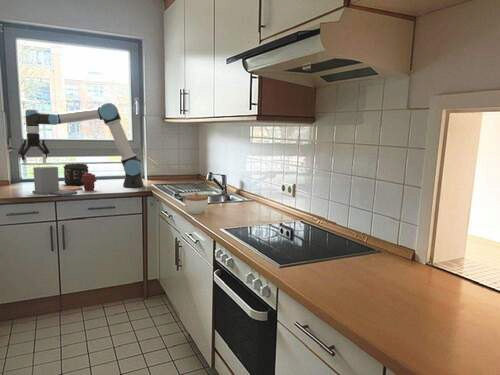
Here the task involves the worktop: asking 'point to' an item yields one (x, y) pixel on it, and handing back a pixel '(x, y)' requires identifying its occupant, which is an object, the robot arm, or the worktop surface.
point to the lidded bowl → (196, 203)
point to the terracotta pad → (70, 188)
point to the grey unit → (46, 180)
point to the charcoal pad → (64, 193)
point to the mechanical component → (88, 181)
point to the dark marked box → (74, 174)
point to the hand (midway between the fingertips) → (35, 164)
